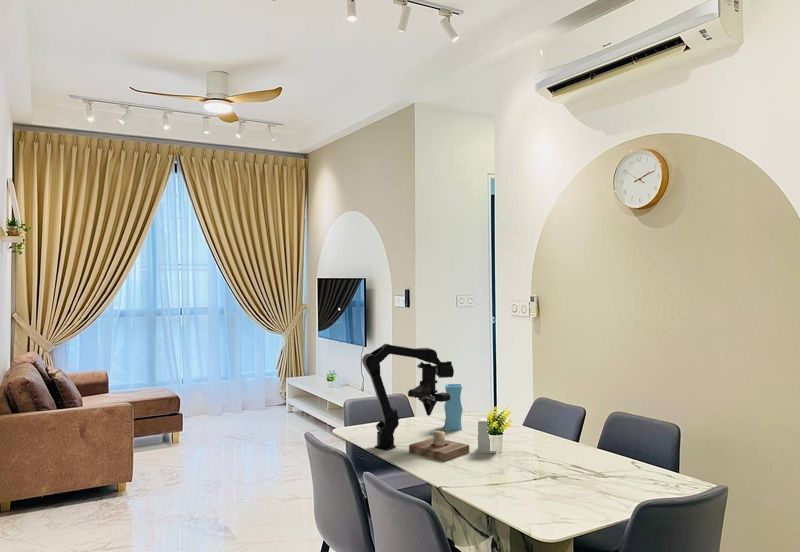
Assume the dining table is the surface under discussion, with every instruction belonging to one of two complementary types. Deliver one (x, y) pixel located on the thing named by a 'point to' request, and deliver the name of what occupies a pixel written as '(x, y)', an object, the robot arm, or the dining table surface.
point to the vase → (453, 407)
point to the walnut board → (439, 449)
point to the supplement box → (483, 437)
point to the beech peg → (439, 439)
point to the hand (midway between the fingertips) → (428, 415)
